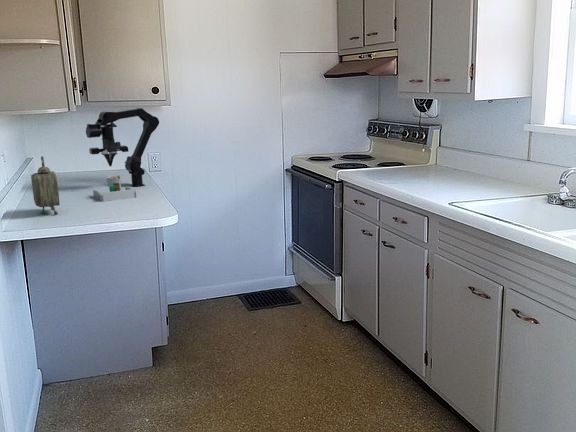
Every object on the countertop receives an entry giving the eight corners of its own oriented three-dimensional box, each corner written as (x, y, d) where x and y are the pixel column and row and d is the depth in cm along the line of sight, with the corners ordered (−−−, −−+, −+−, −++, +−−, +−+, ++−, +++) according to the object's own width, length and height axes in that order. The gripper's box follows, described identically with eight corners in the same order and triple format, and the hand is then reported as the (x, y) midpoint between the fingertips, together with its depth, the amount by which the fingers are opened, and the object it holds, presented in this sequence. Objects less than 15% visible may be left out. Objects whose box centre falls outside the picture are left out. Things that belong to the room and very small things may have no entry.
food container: (108, 194, 288) (107, 175, 285) (121, 194, 289) (120, 174, 287) (107, 200, 276) (105, 179, 274) (120, 199, 278) (119, 178, 275)
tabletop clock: (61, 215, 247) (54, 157, 241) (38, 218, 243) (31, 159, 237) (56, 208, 260) (50, 153, 254) (35, 211, 256) (28, 155, 250)
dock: (93, 195, 285) (92, 188, 284) (127, 192, 294) (127, 184, 293) (101, 201, 273) (100, 193, 272) (136, 197, 282) (135, 189, 281)
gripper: (92, 139, 284) (95, 170, 288) (130, 136, 293) (132, 166, 297) (87, 137, 293) (90, 167, 297) (124, 134, 303) (126, 164, 306)
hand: (110, 166), depth 299 cm, fingers closed
